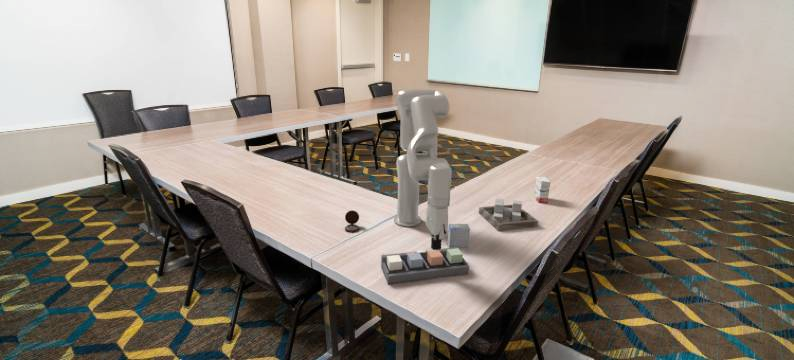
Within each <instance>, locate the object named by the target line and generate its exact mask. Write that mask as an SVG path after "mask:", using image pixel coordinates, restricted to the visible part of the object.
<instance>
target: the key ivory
mask: <svg viewBox="0 0 794 360" xmlns="http://www.w3.org/2000/svg"><path fill="white" fill-rule="evenodd" d="M387 266H388V268H389V270H390V271H391V270H399V269H402V260H401V258H400V256H399V255H392V256H387Z"/></svg>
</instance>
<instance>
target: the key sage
mask: <svg viewBox="0 0 794 360" xmlns="http://www.w3.org/2000/svg"><path fill="white" fill-rule="evenodd" d="M458 248H459V247H458ZM458 248H456V249H447V256H446V257H447V259H448V260H449V262H450V263H459V262H462V259H463V258H464V254H463V252H462V251H461V250H460V248H459V249H458Z"/></svg>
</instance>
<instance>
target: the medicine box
mask: <svg viewBox="0 0 794 360" xmlns="http://www.w3.org/2000/svg"><path fill="white" fill-rule="evenodd" d="M470 231H471V228H470V226H469V224H468V223H448V231H447V245H448V248H453V247H458V248H469V243H470V242H469V241H470V233H471V232H470Z"/></svg>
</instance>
